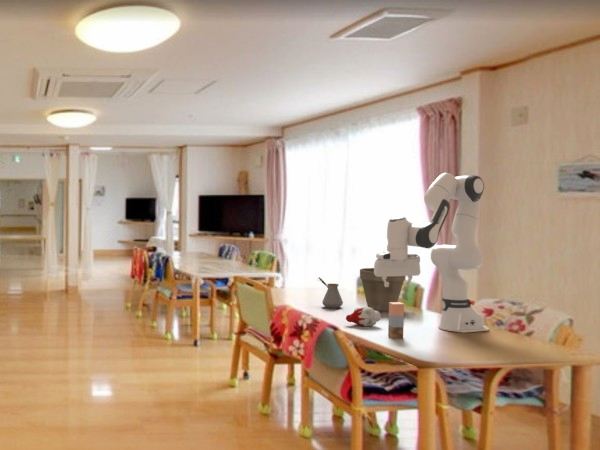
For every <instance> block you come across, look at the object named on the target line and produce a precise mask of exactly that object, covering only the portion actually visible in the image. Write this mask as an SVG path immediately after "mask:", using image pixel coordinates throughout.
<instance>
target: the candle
mask: <svg viewBox="0 0 600 450" xmlns="http://www.w3.org/2000/svg"><path fill="white" fill-rule="evenodd" d="M345 320H346V321H347V322H349V323H354V324H355V325H357V326H360V327H361V326H362V327H373V326H375V325H376V324H377V322H379V321H381V311H375V310H373V309H372V308H370V307H368V306H363V307H362V306H361V307H357V308H354V311H353V312H352V313H350V314H347V315H346V317H345Z"/></svg>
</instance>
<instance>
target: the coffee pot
mask: <svg viewBox="0 0 600 450" xmlns="http://www.w3.org/2000/svg"><path fill="white" fill-rule="evenodd" d="M317 281H320V282H321V284H323V285H324V286H325V287H326V288H327V290H326V291H325V294H324V297H323V299H322V302H321V303H322V305H323V306H324V307H325V308H326V309H340V307H341V306H343V304H344V302H343V299H342V297H341V296H342V295H341V293H340V291H339V289H338V287H339V283H326V282H325V281H324V280H323V279H322V278H321V277H318V278H317Z"/></svg>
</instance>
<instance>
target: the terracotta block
mask: <svg viewBox="0 0 600 450" xmlns="http://www.w3.org/2000/svg"><path fill="white" fill-rule="evenodd" d="M389 314H390V315H392V316H405V303H403V302H400V301H398V302H389V311H388V315H389Z"/></svg>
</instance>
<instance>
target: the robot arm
mask: <svg viewBox="0 0 600 450" xmlns="http://www.w3.org/2000/svg"><path fill="white" fill-rule="evenodd" d="M484 190H485V183H484V181H483V179H482V178H481V177H480V176H479V175H474V174H470V175H459V176H458V175H457V176H455V175H454V174H452V173H448V172H444V173H441V174H440V175H439V176H438V177H436V179H435V180H434V181H433V182H431V185H430V186H429V187H428V189H427V190H426V191H425V193H424V195H423V201H424V203H425V206H426V207H427V208H428V209H429V210H430V211H431V212H433V214H432V215H431V217H430V220H429V222H427V223H425V224H416V223H412V222H410V221H409V220H407V218H406V217H405V216H395V217H392V218H389V220H388V223H387V229H386V239H387V246H386V250H384V251H381V252H378V253H376V254H375V255H376V260H375V262H374V266H373V268H374V275H375V276H377V277H382V279H383V281H384V286H385V287H389V283H388V282H387V281H386V280H385V279H387V276H406V277H407V278H408V279H407V281H405V282H404V283H405V284H404V285H405V287H410V285H411V281H412V279H413V276H415V277H417V276H418V277H419V276H420V275H421V265H420V264H421V263H420V262H421V257H420V256H419V254H417V253H415V254H412V253H411V254H410V253H409V251H408V250H409V249H408V248H409V247H417V248H424V249H431V248H432V250H431V252H430V260H431V262H432V264H433V265H434V266H435V267H436V268H437V270H438V272H439V273H440V276H441V279H442V298H441V310H442V311H441V317H440V323H439V325H438V328H439V329H441V330H443V331H448V332H449V331H450V332H457V333H473V332H474V333H475V332H486V331H487V332H488V331H489V327H488V326H486V325H485V324H484V318H483V316H482V314H480V313H479V312H478V311H476V310H475V309H474V308H473V307H472V306H475V305H476V302H475V300H472V299H471V300H470V299H469V298H468V297H469V296H468V292H469V291H468V288H469V284H468V281H467V280H466V279H465V278H464V277H463V276H462V275H461V274H460V271H459V270H463V271H464V270H465V271H473V270H478V269H479V268H480V267H481V266H482V264H483V261H484V256H483V253H482V250H481V249H480V248H479V247H478V245H477V243H476V232H477V228H478V223H479V219H480V213H481V201H480V199H481V198H482V196H483V193H484ZM454 200H456V201H457V203H458V204H457V207H456V211H455V212H454V213H455V214H454V216H453V217H454V218H453V221H452V226H451V228H450V231H451V234H452V235H453V236H454V238H456V239H457V244H454V245H453V244H439V245H436V244H437V243H438V240H439V237H440V232H441V230H442V228H443V226H444V223H445V221H446V220H447V217H448V215H449V212H450V207H451V206H450V201H454ZM408 246H409V247H408ZM408 253H409V254H408Z"/></svg>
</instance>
